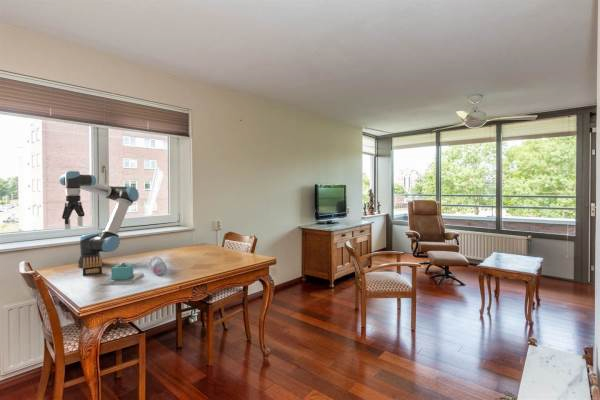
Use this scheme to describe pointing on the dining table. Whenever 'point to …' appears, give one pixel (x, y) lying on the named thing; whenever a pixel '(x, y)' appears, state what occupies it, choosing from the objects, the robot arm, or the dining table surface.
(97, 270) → the ammunition clip
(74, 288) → the dining table surface
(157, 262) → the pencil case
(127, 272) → the collar
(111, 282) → the post stand
